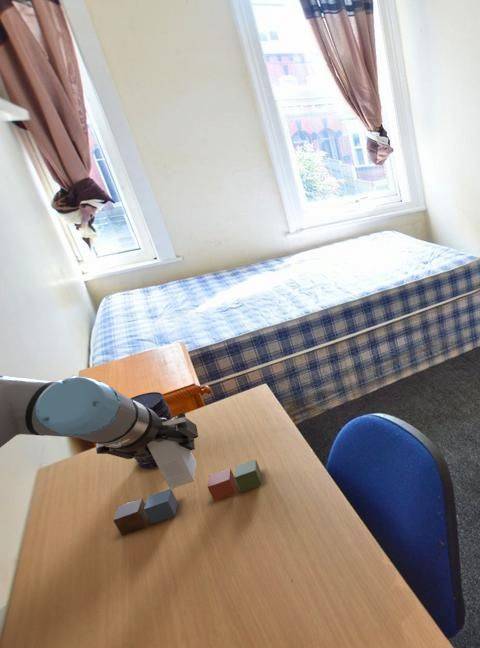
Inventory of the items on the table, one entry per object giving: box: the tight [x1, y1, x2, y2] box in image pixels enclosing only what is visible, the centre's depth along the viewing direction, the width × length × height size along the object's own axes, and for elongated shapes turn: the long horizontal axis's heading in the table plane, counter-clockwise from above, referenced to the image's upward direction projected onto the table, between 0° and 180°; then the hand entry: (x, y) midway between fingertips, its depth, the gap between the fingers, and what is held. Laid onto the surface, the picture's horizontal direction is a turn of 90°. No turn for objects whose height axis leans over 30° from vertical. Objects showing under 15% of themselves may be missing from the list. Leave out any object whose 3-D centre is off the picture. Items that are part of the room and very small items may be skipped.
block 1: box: [112, 497, 149, 536], centre depth 93 cm, size 4×4×4 cm
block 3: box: [207, 467, 237, 502], centre depth 99 cm, size 4×4×4 cm
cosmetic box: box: [147, 418, 198, 490], centre depth 92 cm, size 6×4×12 cm
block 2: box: [144, 488, 179, 525], centre depth 95 cm, size 4×4×4 cm
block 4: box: [234, 459, 262, 493], centre depth 101 cm, size 4×4×4 cm
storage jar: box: [129, 391, 173, 470], centre depth 110 cm, size 10×10×15 cm
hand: (178, 447), depth 96 cm, fingers closed on cosmetic box, 4 cm apart
